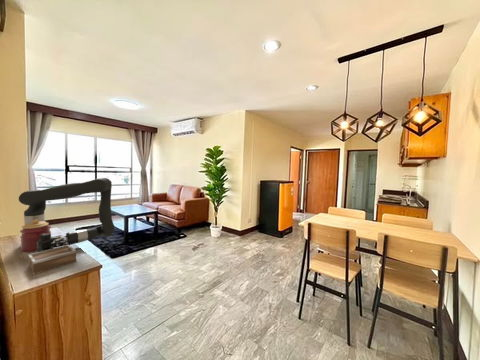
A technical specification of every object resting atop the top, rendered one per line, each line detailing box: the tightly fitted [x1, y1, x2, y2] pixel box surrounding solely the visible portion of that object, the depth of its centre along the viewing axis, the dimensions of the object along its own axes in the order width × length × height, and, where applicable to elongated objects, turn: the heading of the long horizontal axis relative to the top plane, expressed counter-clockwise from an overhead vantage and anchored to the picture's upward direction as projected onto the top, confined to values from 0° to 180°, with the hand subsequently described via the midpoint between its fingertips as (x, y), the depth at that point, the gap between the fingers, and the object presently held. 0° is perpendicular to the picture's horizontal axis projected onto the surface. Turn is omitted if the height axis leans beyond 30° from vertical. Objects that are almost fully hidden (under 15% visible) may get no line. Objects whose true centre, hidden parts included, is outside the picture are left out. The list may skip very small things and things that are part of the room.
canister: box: [19, 219, 52, 253], centre depth 121 cm, size 13×13×18 cm
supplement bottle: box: [36, 232, 54, 252], centre depth 112 cm, size 7×7×12 cm
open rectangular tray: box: [27, 245, 77, 275], centre depth 104 cm, size 12×16×6 cm
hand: (39, 245), depth 111 cm, fingers closed on supplement bottle, 7 cm apart
